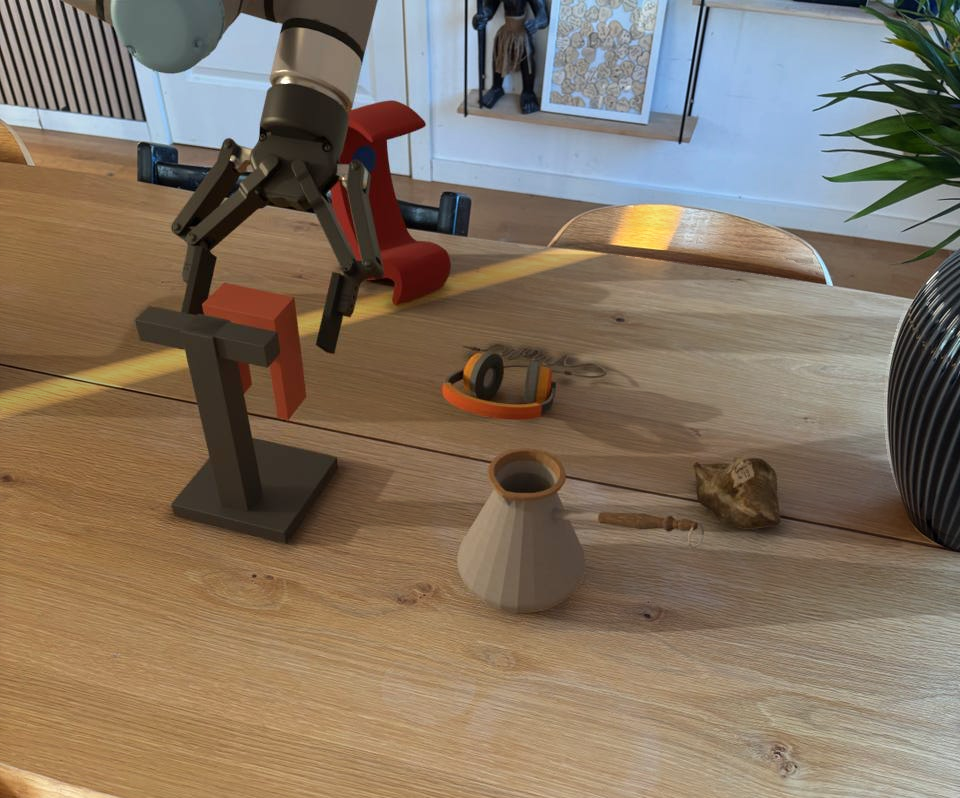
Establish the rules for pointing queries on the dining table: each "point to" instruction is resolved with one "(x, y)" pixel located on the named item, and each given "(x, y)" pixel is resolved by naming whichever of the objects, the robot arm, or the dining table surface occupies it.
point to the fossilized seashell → (739, 492)
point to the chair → (388, 202)
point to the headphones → (486, 380)
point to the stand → (236, 432)
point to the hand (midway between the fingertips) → (256, 335)
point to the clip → (268, 315)
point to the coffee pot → (534, 535)
